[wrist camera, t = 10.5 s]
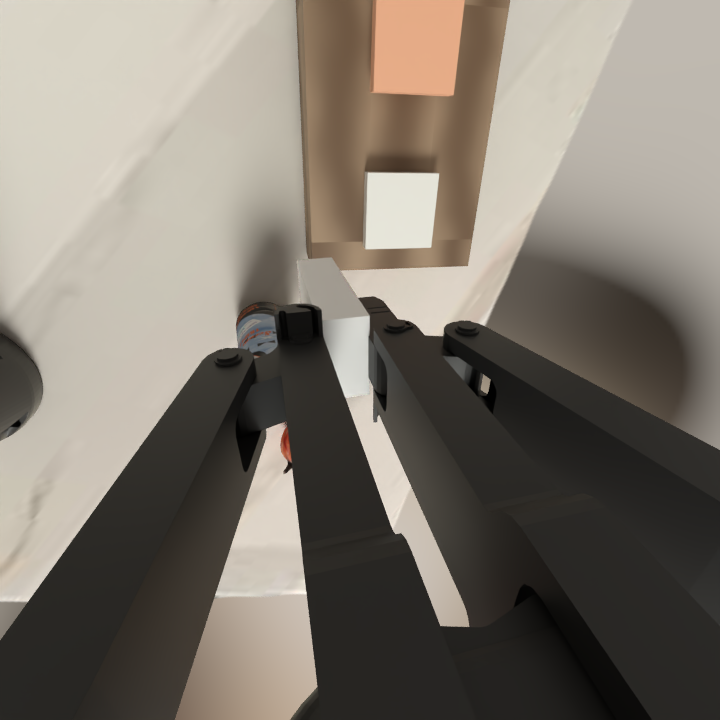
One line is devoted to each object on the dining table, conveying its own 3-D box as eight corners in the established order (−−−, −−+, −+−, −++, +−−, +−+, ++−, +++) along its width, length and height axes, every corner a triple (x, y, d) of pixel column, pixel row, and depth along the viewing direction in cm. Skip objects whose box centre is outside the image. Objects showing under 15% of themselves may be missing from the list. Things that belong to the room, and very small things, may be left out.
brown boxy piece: (306, 253, 44) (312, 271, 38) (294, -28, 32) (300, -65, 26) (442, 249, 46) (467, 265, 41) (474, -9, 35) (516, -39, 29)
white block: (350, 231, 43) (365, 249, 36) (350, 166, 40) (367, 172, 33) (406, 230, 44) (431, 247, 37) (411, 167, 41) (439, 173, 34)
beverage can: (257, 287, 44) (253, 332, 34) (308, 323, 48) (319, 374, 37) (225, 328, 46) (212, 382, 36) (277, 360, 49) (279, 418, 39)
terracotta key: (353, 99, 36) (373, 91, 29) (355, 9, 33) (377, -25, 26) (420, 102, 37) (453, 94, 30) (427, 15, 34) (466, -16, 27)
